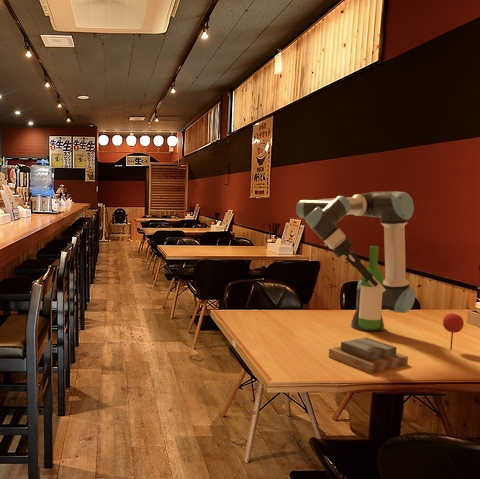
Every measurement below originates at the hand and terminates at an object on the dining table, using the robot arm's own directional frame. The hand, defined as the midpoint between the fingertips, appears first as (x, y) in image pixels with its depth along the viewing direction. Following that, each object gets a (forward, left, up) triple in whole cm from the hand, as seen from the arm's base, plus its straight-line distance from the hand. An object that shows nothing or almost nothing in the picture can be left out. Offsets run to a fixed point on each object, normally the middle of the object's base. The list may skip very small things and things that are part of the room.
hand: (381, 290), depth 169 cm
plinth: (+2, -2, -27) cm, 27 cm away
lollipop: (-41, +5, -27) cm, 49 cm away
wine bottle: (+3, -3, -14) cm, 15 cm away
